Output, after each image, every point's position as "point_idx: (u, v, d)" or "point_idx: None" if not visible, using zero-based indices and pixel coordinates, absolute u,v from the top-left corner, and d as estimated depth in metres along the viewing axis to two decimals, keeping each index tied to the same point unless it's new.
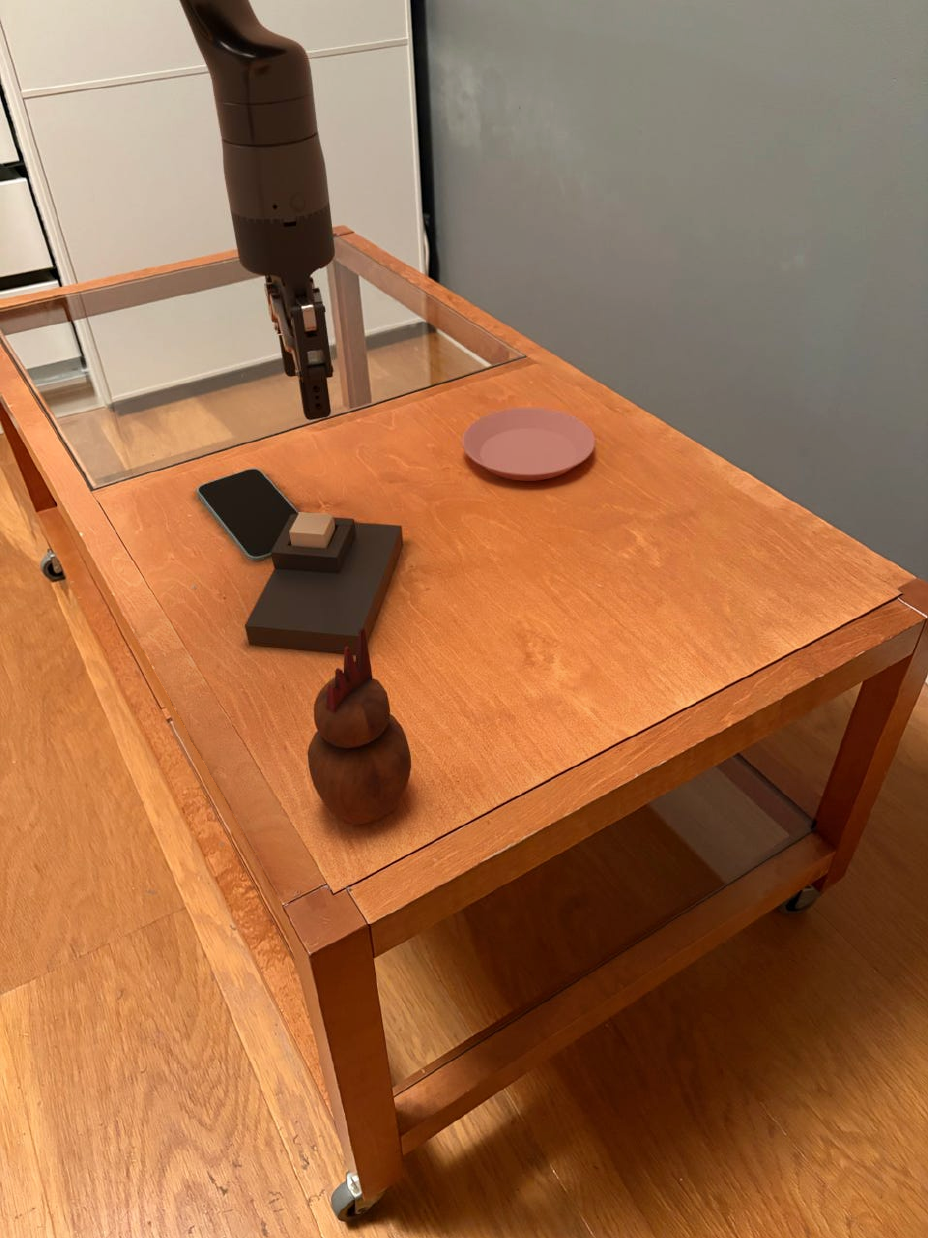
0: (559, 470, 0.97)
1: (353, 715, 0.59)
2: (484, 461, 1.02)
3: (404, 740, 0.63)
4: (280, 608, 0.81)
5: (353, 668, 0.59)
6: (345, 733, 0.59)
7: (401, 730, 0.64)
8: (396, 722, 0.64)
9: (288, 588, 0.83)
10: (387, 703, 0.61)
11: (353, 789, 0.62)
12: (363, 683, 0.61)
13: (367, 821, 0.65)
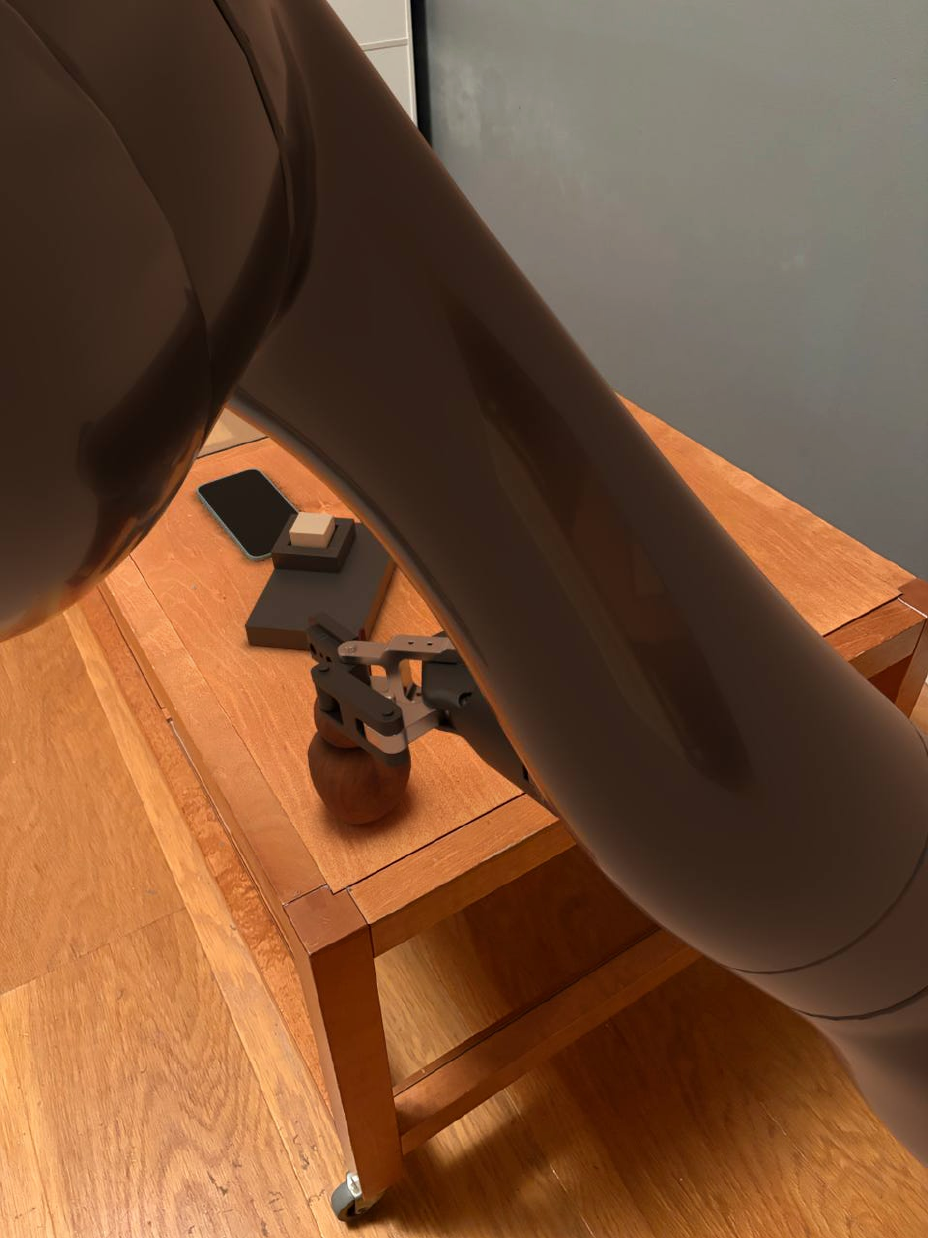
0: None
1: None
2: None
3: None
4: (280, 608, 0.81)
5: None
6: None
7: None
8: None
9: (288, 588, 0.83)
10: None
11: (353, 789, 0.62)
12: None
13: (367, 821, 0.65)
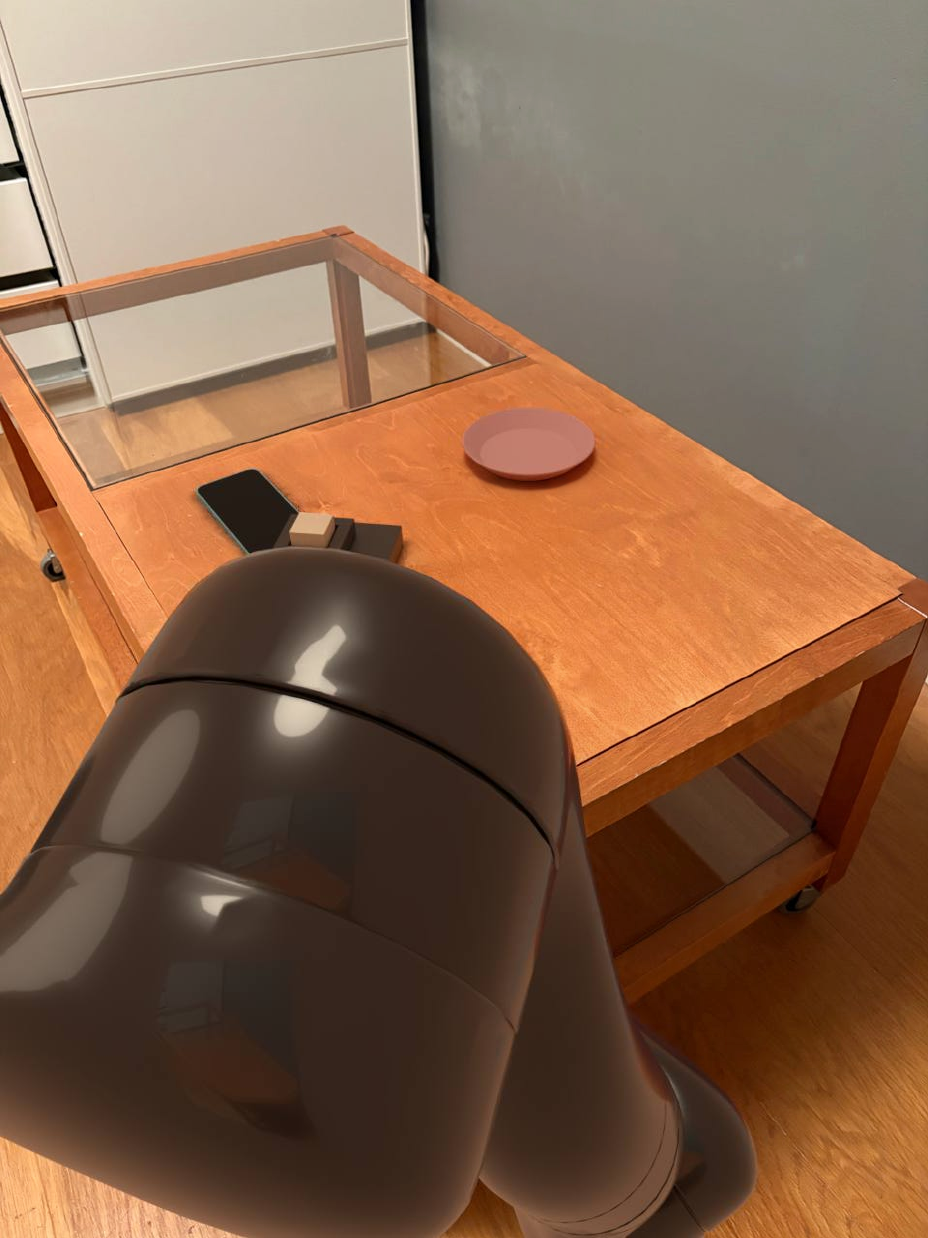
0: (559, 470, 0.97)
1: None
2: (484, 461, 1.02)
3: None
4: None
5: None
6: None
7: None
8: None
9: None
10: None
11: None
12: None
13: None
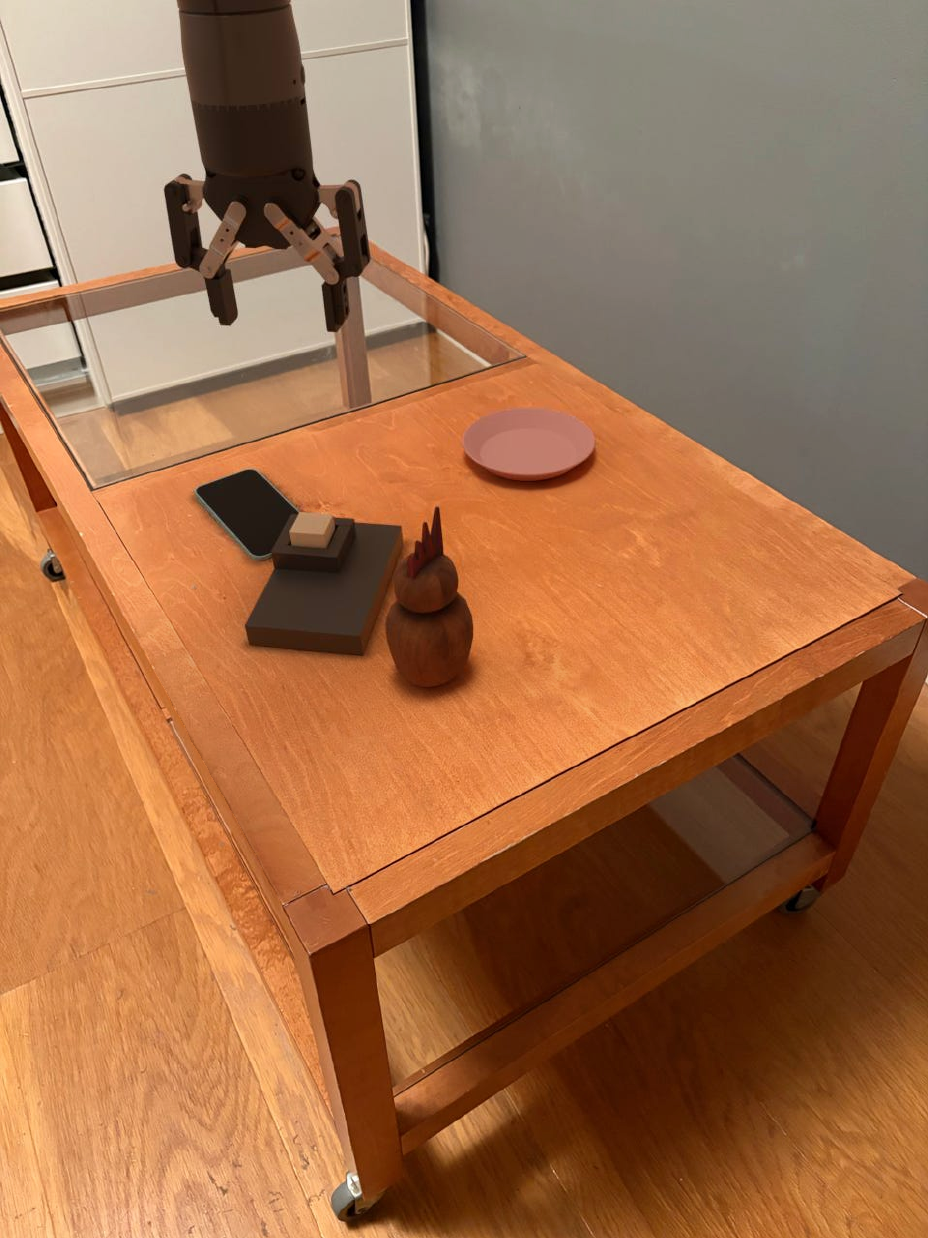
0: (559, 470, 0.97)
1: (430, 581, 0.69)
2: (484, 461, 1.02)
3: (469, 611, 0.74)
4: (280, 608, 0.81)
5: (429, 542, 0.69)
6: (422, 598, 0.69)
7: (466, 603, 0.74)
8: (461, 596, 0.74)
9: (288, 588, 0.83)
10: (456, 575, 0.71)
11: (426, 650, 0.72)
12: (436, 557, 0.71)
13: (435, 683, 0.75)
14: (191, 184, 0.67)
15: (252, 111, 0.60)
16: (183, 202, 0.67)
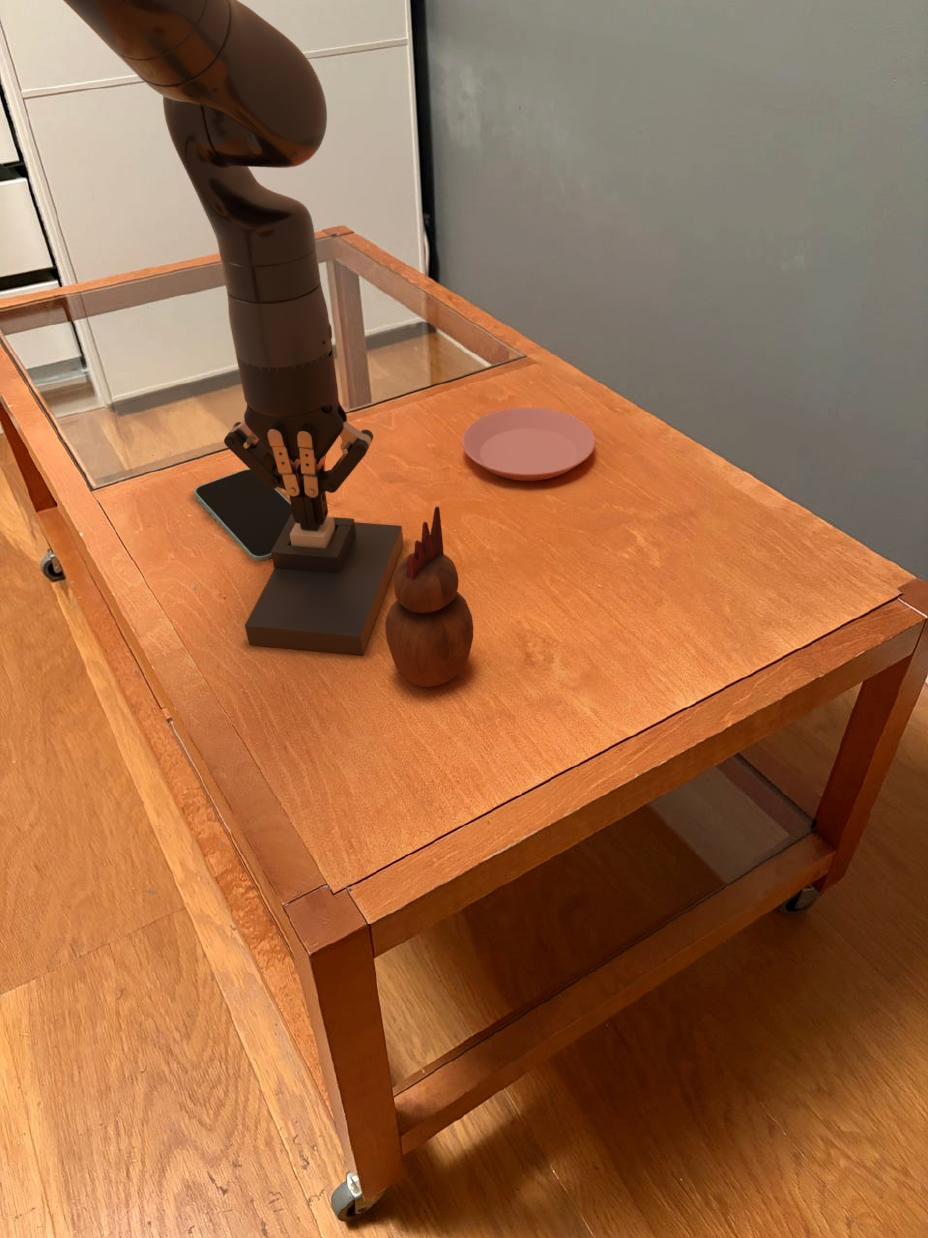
0: (559, 470, 0.97)
1: (430, 581, 0.69)
2: (484, 461, 1.02)
3: (469, 611, 0.74)
4: (280, 608, 0.81)
5: (429, 542, 0.69)
6: (422, 598, 0.69)
7: (466, 603, 0.74)
8: (461, 596, 0.74)
9: (288, 588, 0.83)
10: (456, 575, 0.71)
11: (426, 650, 0.72)
12: (436, 557, 0.71)
13: (435, 683, 0.75)
14: (239, 427, 0.79)
15: (289, 370, 0.72)
16: (242, 443, 0.80)
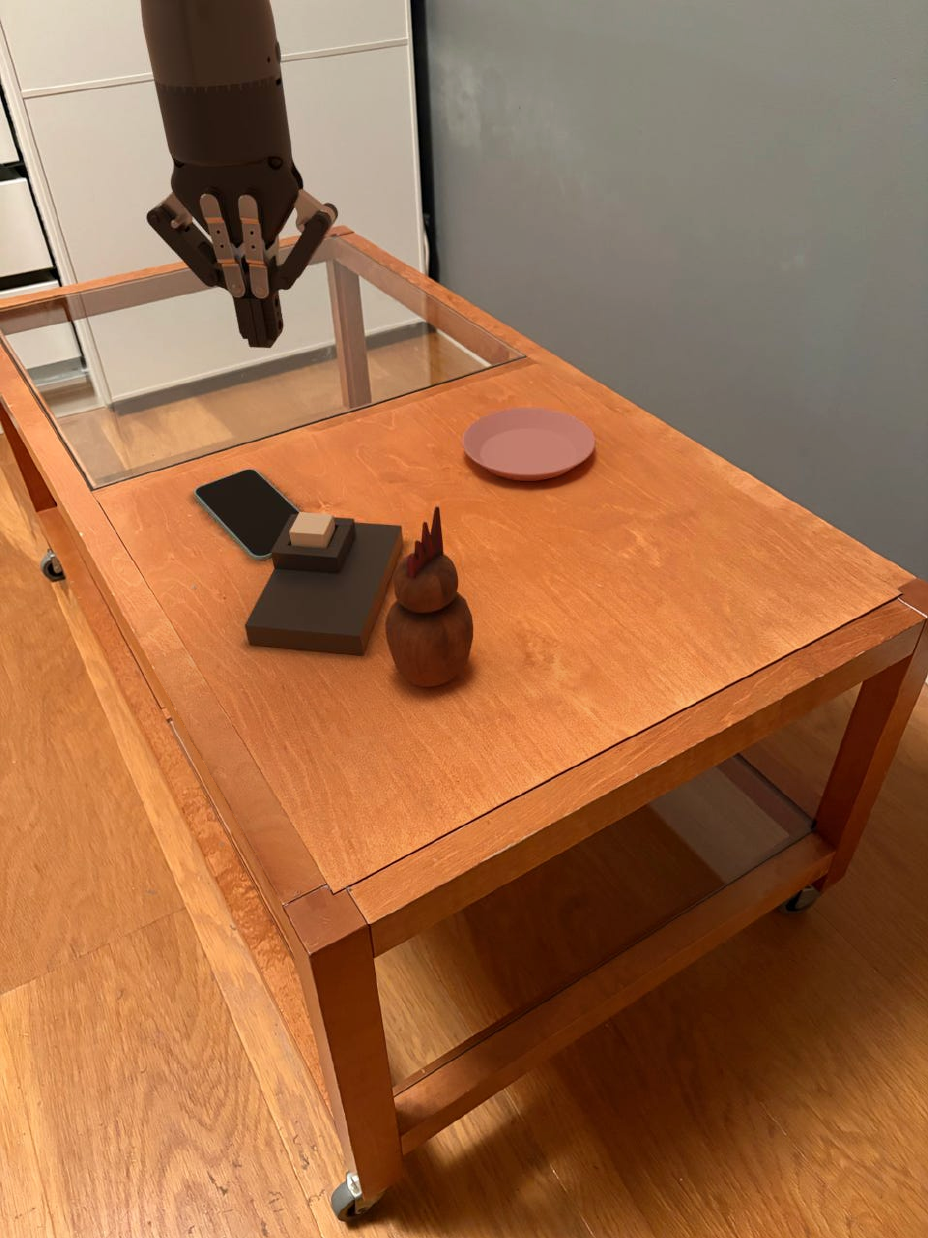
0: (559, 470, 0.97)
1: (430, 581, 0.69)
2: (484, 461, 1.02)
3: (469, 611, 0.74)
4: (280, 608, 0.81)
5: (429, 542, 0.69)
6: (422, 598, 0.69)
7: (466, 603, 0.74)
8: (461, 596, 0.74)
9: (288, 588, 0.83)
10: (456, 575, 0.71)
11: (426, 650, 0.72)
12: (436, 557, 0.71)
13: (435, 683, 0.75)
14: (166, 199, 0.62)
15: (222, 92, 0.54)
16: (170, 221, 0.62)
